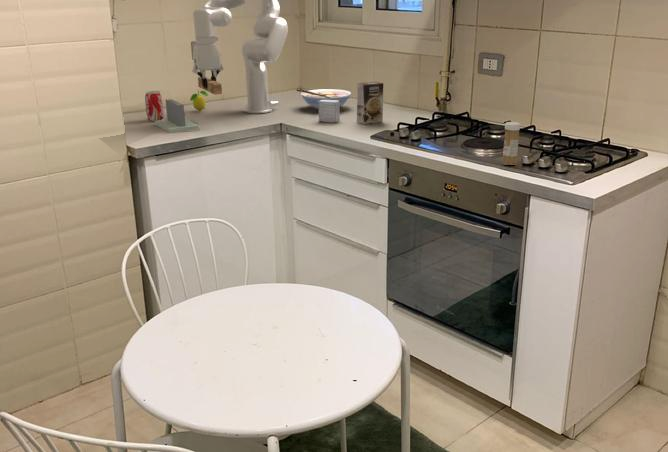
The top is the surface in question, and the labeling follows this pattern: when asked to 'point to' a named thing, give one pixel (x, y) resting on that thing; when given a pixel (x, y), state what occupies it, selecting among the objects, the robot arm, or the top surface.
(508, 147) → the sprinkles bottle
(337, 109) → the medicine box
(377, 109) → the coffee box
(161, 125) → the stand
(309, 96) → the ramen bowl
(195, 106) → the lemon
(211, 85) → the walnut bar
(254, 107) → the robot arm
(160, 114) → the soda can
